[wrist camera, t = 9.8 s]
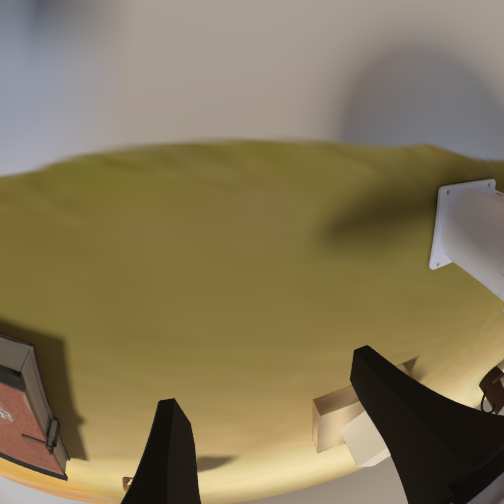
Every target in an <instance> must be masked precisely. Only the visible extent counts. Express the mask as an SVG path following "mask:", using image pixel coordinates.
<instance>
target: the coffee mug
mask: <svg viewBox="0 0 504 504" xmlns="http://www.w3.org/2000/svg"><path fill="white" fill-rule="evenodd" d="M479 387H480V388H481V390H482V391H483V393H484V395H483V398H482V401H481V411H484V410H483V401H484V398H485V396H486V398H487V400H488V401H489V403H490V405H491V406H492V411H491V412H488V413H492V412H493V411H494V412H495V413H496V414H497V415H499V414H500V413H501V412H502V411H503V410H504V372H502V371H501V370H500V369H499V368H498V367H497V366H496V367H494V368H493V369H491V370H490V371H489V372H488V373H487V375H486V376H485V377H484V378H483V379H482V381H481V382H480V384H479ZM484 412H485V411H484Z"/></svg>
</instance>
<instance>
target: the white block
mask: <svg viewBox="0 0 504 504" xmlns="http://www.w3.org/2000/svg"><path fill="white" fill-rule="evenodd" d="M339 430H340V432H341V434H342V436H343V438H344V440H345V442H346V444H347V447H348V449H349V451H350V453H351V455H352V457H353V459H354V461H355V463H356V466H357V467H367V466H374V465H376V464H377V463H379V462H380V461H382V460H383V459H385V458H386V457H388V456H390V453H389V450H388V448H387V446H386V444H385V442H384V440H383V438H382V437H381V435H380V433H379V432H378V430H377V429H376V427H375V425H374V424H373V422H372V420H371V419H370V417H369V416H368V414H367V412H366V411H364V412H363V413H361V414H360V415H358V416H357V417H356V418H354V419H353V420H352V421H350V422H349V423H347V424H346V425H345V426H343V427H342V428H340V429H339Z"/></svg>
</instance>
